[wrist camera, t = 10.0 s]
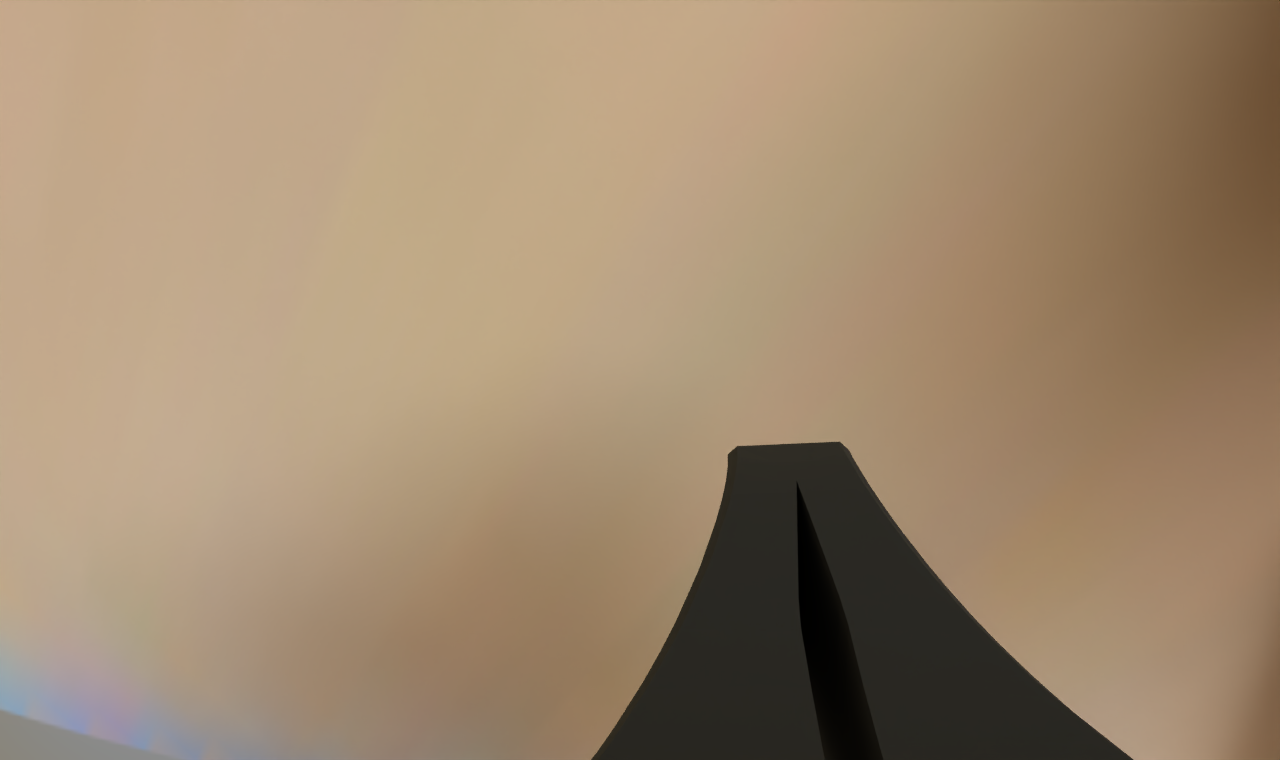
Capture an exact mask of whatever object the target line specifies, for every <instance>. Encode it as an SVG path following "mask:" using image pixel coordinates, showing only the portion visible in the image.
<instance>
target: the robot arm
mask: <svg viewBox="0 0 1280 760" xmlns="http://www.w3.org/2000/svg"><path fill="white" fill-rule="evenodd" d="M591 760H1133V759H1132V758H1131V757H1129V756H1128V755H1127V754H1126V753H1124V752H1123V751H1122V750H1120V749H1119V748H1118V747H1117V746H1115V745H1114V744H1113V743H1112V742H1110V741H1109V740H1108V739H1107V738H1105V737H1104V736H1103V735H1102V734H1100V733H1099V732H1098V731H1096V730H1095V729H1094V728H1093V727H1091V726H1090V725H1089V724H1088V723H1086V722H1085V721H1084V720H1083V719H1081V718H1080V717H1079V716H1078V715H1076V714H1075V713H1074V712H1073V711H1071V710H1070V709H1069V708H1068V707H1067V706H1066V705H1064V704H1063V703H1062V702H1061V701H1060V700H1059V699H1058V698H1057V697H1055V696H1054V695H1053V694H1052V693H1051V692H1050V691H1049V690H1048V689H1046V688H1045V687H1044V686H1043V685H1042V684H1041V683H1040V682H1039V681H1037V680H1036V679H1035V678H1034V677H1033V676H1032V675H1031V674H1030V673H1029V672H1028V671H1027V670H1026V669H1025V668H1023V667H1022V666H1021V665H1020V664H1019V663H1018V662H1017V661H1016V660H1015V659H1014V658H1013V657H1012V656H1011V655H1010V654H1009V653H1008V652H1007V651H1006V650H1005V649H1004V648H1003V647H1002V646H1001V645H1000V644H999V643H998V642H997V641H996V640H995V639H994V638H993V637H992V636H991V635H990V634H989V633H988V632H987V631H986V630H985V629H984V628H983V627H982V626H981V625H980V624H979V623H978V622H977V620H976V619H975V618H974V617H973V616H972V615H971V614H970V613H969V612H968V611H967V610H966V608H965V607H964V606H963V605H962V604H961V603H960V602H959V601H958V599H957V598H956V597H955V596H954V595H953V594H952V593H951V592H950V590H949V589H948V588H947V587H946V586H945V585H944V584H943V582H942V581H941V580H940V579H939V578H938V576H937V575H936V574H935V573H934V572H933V570H932V569H931V568H930V567H929V566H928V564H927V563H926V562H925V561H924V559H923V558H922V557H921V555H920V554H919V553H918V552H917V550H916V549H915V548H914V546H913V545H912V544H911V543H910V541H909V540H908V539H907V537H906V536H905V535H904V534H903V532H902V531H901V530H900V528H899V527H898V526H897V524H896V523H895V521H894V520H893V519H892V517H891V516H890V515H889V513H888V512H887V510H886V509H885V507H884V506H883V504H882V503H881V502H880V500H879V499H878V497H877V496H876V494H875V493H874V491H873V490H872V488H871V487H870V485H869V484H868V482H867V480H866V479H865V477H864V476H863V474H862V472H861V471H860V469H859V467H858V466H857V464H856V462H855V461H854V459H853V457H852V455H851V453H850V451H849V450H848V449H847V448H846V447H845V446H844V445H843V444H842V443H840V442H824V443H801V444H779V445H756V446H737V447H736V448H735V449H734V450H732V451H731V452H730V453H729V454H728V470H727V477H726V484H725V489H724V493H723V498H722V501H721V505H720V509H719V512H718V516H717V520H716V523H715V526H714V529H713V532H712V534H711V537H710V540H709V543H708V546H707V549H706V552H705V555H704V557H703V560H702V563H701V566H700V568H699V571H698V573H697V575H696V578H695V580H694V582H693V584H692V587H691V589H690V591H689V593H688V596H687V598H686V600H685V602H684V605H683V607H682V609H681V612H680V614H679V616H678V618H677V620H676V622H675V624H674V626H673V628H672V630H671V632H670V634H669V636H668V638H667V640H666V642H665V644H664V646H663V648H662V650H661V651H660V653H659V655H658V657H657V659H656V660H655V662H654V664H653V666H652V668H651V669H650V671H649V673H648V675H647V676H646V678H645V680H644V681H643V683H642V685H641V686H640V688H639V690H638V691H637V693H636V694H635V696H634V697H633V699H632V701H631V702H630V704H629V705H628V707H627V709H626V710H625V712H624V713H623V715H622V716H621V718H620V720H619V721H618V723H617V724H616V726H615V727H614V729H613V730H612V732H611V733H610V735H609V736H608V737H607V739H606V740H605V742H604V743H603V745H602V746H601V747H600V749H599V750H598V752H597V753H596V754H595V756H594V757H593V758H592V759H591Z"/></svg>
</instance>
